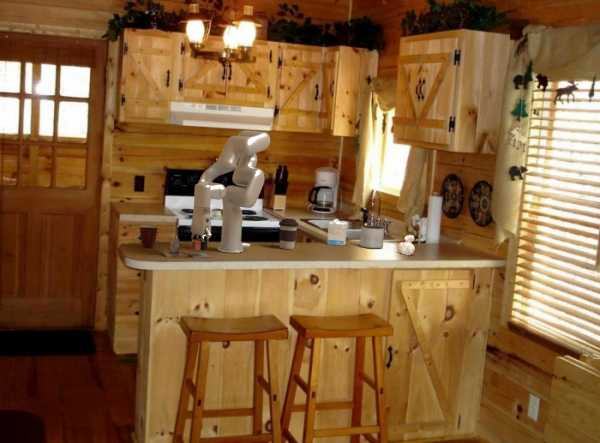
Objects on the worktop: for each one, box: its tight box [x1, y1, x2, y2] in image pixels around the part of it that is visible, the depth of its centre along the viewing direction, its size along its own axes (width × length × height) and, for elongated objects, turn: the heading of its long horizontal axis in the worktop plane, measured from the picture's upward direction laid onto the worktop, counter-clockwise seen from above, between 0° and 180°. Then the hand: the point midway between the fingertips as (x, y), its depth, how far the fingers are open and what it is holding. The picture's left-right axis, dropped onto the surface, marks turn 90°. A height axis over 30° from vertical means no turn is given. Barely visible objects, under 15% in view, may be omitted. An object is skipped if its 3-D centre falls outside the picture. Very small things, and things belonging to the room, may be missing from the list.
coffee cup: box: [278, 218, 299, 250], centre depth 416 cm, size 10×10×15 cm
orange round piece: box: [190, 238, 202, 251], centre depth 377 cm, size 7×7×5 cm
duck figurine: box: [397, 234, 416, 256], centre depth 426 cm, size 12×8×11 cm
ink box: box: [326, 218, 348, 246], centre depth 442 cm, size 9×8×13 cm
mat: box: [187, 253, 211, 259], centre depth 378 cm, size 8×8×1 cm
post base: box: [160, 238, 189, 258], centre depth 375 cm, size 10×10×7 cm
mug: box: [139, 224, 158, 249], centre depth 389 cm, size 11×8×10 cm
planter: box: [359, 224, 385, 250], centre depth 441 cm, size 12×13×11 cm
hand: (199, 248), depth 377 cm, fingers closed on orange round piece, 6 cm apart
